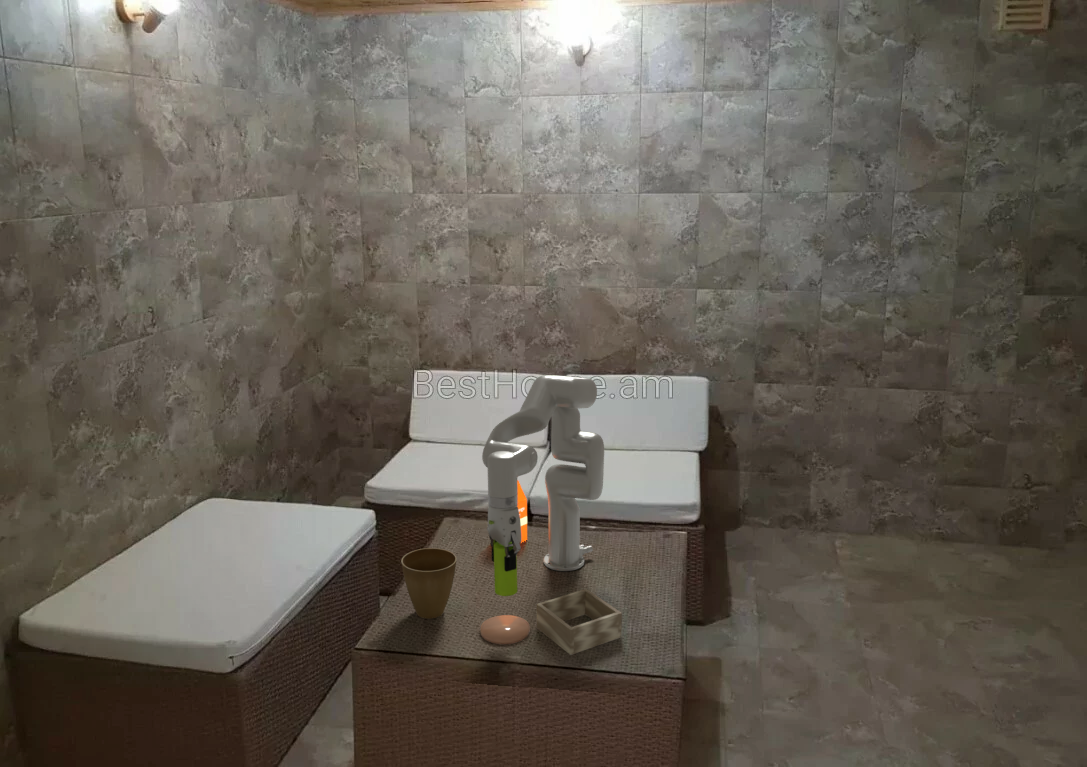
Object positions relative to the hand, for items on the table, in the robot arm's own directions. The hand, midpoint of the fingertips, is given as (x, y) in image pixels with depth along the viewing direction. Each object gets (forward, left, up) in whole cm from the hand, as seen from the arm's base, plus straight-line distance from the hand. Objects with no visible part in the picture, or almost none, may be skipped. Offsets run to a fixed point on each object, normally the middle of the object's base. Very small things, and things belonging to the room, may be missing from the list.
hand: (503, 564), depth 234 cm
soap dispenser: (0, 0, -8) cm, 8 cm away
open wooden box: (-16, +11, -19) cm, 27 cm away
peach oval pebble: (0, 0, -19) cm, 19 cm away
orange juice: (-30, -49, -19) cm, 61 cm away
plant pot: (+12, -20, -19) cm, 30 cm away
